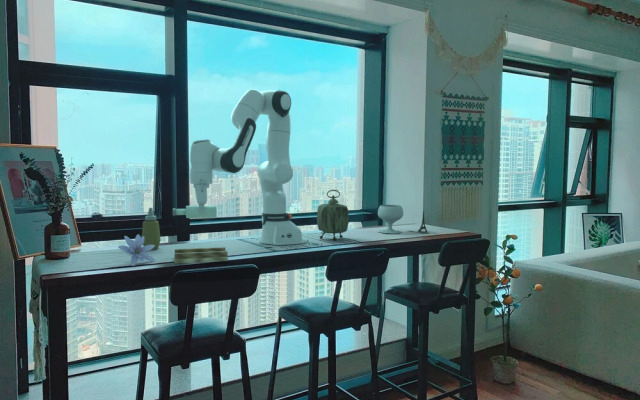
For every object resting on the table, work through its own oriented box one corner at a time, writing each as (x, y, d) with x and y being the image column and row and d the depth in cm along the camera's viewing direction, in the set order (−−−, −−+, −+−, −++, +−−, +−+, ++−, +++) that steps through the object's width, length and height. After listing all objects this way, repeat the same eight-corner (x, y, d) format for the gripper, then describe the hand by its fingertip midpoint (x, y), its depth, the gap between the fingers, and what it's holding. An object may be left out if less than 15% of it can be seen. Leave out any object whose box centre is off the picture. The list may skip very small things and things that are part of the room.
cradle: (224, 255, 202) (224, 246, 202) (227, 260, 190) (227, 252, 190) (174, 257, 196) (174, 248, 196) (174, 263, 185) (174, 254, 184)
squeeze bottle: (154, 250, 210) (154, 209, 208) (137, 249, 211) (136, 208, 210) (164, 247, 218) (163, 207, 216) (147, 246, 219) (147, 206, 218)
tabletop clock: (343, 237, 250) (344, 189, 248) (349, 240, 241) (350, 190, 239) (316, 238, 245) (317, 189, 243) (322, 241, 237) (322, 190, 235)
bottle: (215, 217, 203) (215, 205, 202) (216, 218, 198) (216, 206, 197) (172, 217, 198) (172, 205, 198) (172, 218, 193) (172, 206, 193)
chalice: (388, 230, 278) (388, 203, 277) (408, 232, 268) (408, 205, 267) (372, 232, 269) (372, 205, 268) (391, 235, 259) (392, 207, 257)
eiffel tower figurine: (405, 232, 275) (406, 208, 274) (417, 230, 281) (418, 207, 280) (427, 235, 263) (428, 211, 262) (438, 233, 269) (439, 210, 268)
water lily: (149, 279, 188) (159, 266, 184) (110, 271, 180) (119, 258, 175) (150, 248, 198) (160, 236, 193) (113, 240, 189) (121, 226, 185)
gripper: (210, 180, 188) (210, 216, 189) (208, 178, 208) (208, 210, 209) (193, 180, 187) (193, 216, 188) (193, 178, 206) (193, 210, 207)
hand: (201, 213), depth 198 cm, fingers closed on bottle, 5 cm apart
